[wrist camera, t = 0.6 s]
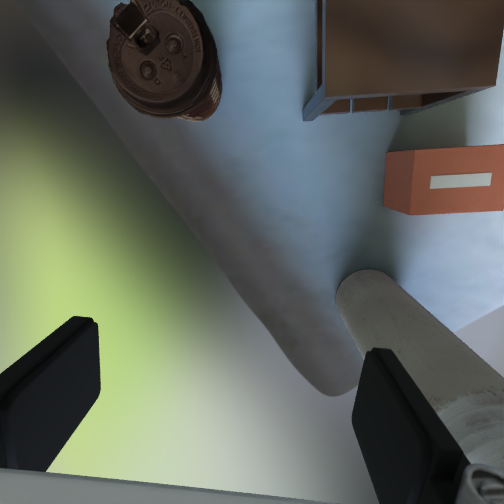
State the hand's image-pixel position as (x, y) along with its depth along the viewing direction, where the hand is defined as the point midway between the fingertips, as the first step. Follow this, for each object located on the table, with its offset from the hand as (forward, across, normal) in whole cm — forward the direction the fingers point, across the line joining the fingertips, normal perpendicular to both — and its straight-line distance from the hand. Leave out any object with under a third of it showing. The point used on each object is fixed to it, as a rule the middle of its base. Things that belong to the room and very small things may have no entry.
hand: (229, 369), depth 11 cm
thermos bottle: (+29, -16, +8) cm, 34 cm away
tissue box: (+29, -19, -7) cm, 35 cm away
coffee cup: (+29, +8, -14) cm, 33 cm away
